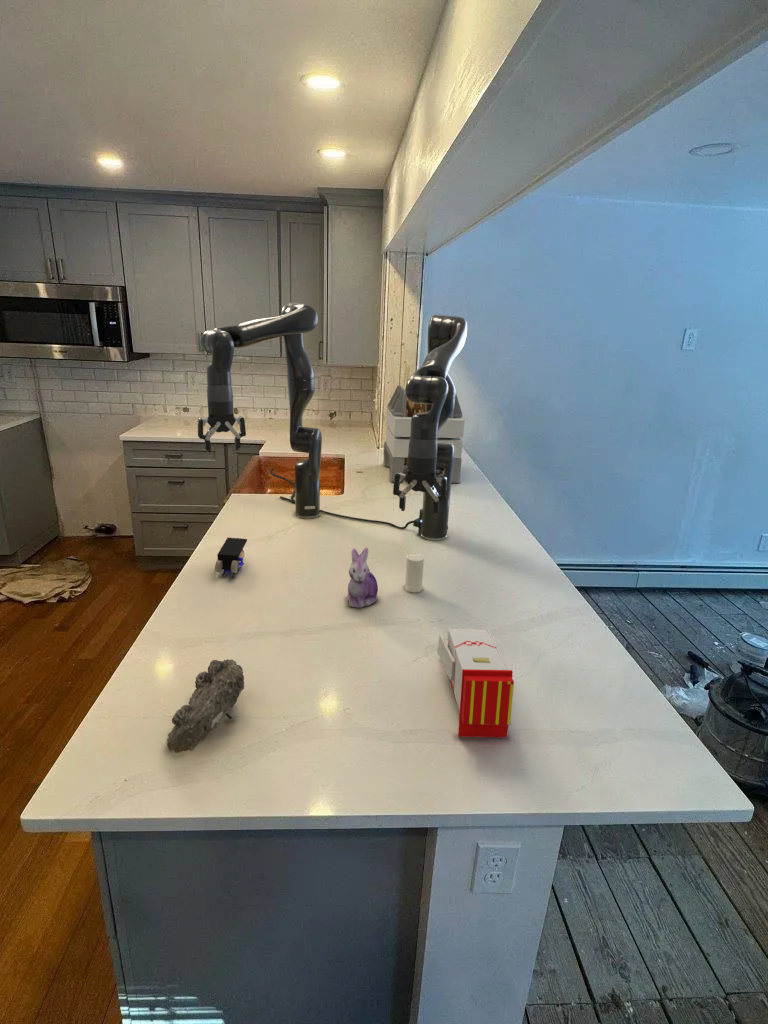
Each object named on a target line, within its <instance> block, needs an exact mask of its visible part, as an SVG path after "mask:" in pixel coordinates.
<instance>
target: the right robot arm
mask: <svg viewBox="0 0 768 1024" xmlns="http://www.w3.org/2000/svg"><path fill="white" fill-rule="evenodd" d="M467 334H468V322H467V320H466V319H465V318H464V317H461V316H456V315H447V314H446V315H444V314H433V315H432V316H430V318H429V320H428V326H427V355H426V356H425V358H424V360H423V363H422V364H421V366H420V367H419V368H417V370H415V371H414V372H413V373H412V374H411V375H410V376H409V378H408V379H407V381H406V384H405V389H404V390H405V393H406V396H407V398H408V400H409V401H410V402H412V403H417V404H425V412H422V413H416V414H414V415H413V416H412V419H411V431H410V441H409V449H408V466H407V465H406V467H407V469H406V473H403V474H402V473H401V472H397V473H396V474H395V479H394V482H393V491H392V494H393V496H397V497H398V498H399V500H398V508H399V509H400V510H401V512H405V510H406V502H407V501H406V500H407V496H406V495H407V494H408V493H409V492H410V491H411V490H412V491H413V492H421V493H422V496H423V497H422V506H421V508H420V509H419V516H418V517H417V518H416V519H413V520H410V521H408V522H406V524H405V525H404V526H398V525H396V524H394V523H392V522H388V521H383V520H375V519H367V518H361V517H354V516H350V515H349V516H348V515H343V514H338V513H334V512H333V513H332V512H330V511H326V510H323V509H320V513H323V514H327V515H329V516H333V517H339V518H344V519H349V520H353V521H362V522H368V523H376V524H383V525H388V526H391V527H393V528H396V529H399V530H406V529H407V528H408V526H409V525H411V524H412V525H413V526H412V527H414V528H418V530H417V535H418V536H420V538H421V539H424V540H426V541H432V542H440V541H444V540H446V539H447V538H448V531H449V517H450V516H449V514H450V504H451V494H452V493H451V491H452V483H451V479H452V470H453V464H454V456H455V449H454V446H453V445H452V444H445V443H437V435H438V430H439V429H440V428H441V427H442V425H443V424H444V423H445V422H446V421H447V420H448V418H449V417H450V416H451V414H452V413H453V411H454V406H455V394H456V395H457V390H456V387H455V384H454V382H453V380H452V378H451V376H450V374H449V370H450V367H451V365H452V364H453V362H454V360H456V358H457V356H458V355H459V354H460V353H461V351H462V350H463V348H464V346H465V344H466V341H467V340H466V339H467V336H468V335H467ZM436 471H437V472H440V471H443V473H442V474H441V473H440V474H438V475H437V473H436ZM403 480H405V481H406V482H407V486H406V487H405V488H404V489H403V490H400V487H401V483H402V482H403ZM401 481H402V482H401ZM279 499H282V500H285V501H287V502H290V503H293V504H295V501H294V500H295V499H294V500H291V498H288V497H285V496H281V495H280V496H279Z"/></svg>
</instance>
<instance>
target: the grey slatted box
mask: <svg viewBox="0 0 768 1024" xmlns="http://www.w3.org/2000/svg"><path fill="white" fill-rule="evenodd" d="M422 412H425V404H417V403H412V402H410V401H409V400H408V398H407V396H406V393H405V389H404V388H403V387H402V385H399V384H398V385H397V386H396V388H395V390H394V392H393V394H392V395H391V398H390V400H389V402H388V404H387V405H386V413H385V414H386V415H385V423H386V428H385V438H384V442H383V466H384V467H388V468H389V475H388V476H389V477H388V478H389V480H390V482H391V483H394V479H395V474H396V473H397V472H401V473H402V474H404V469H405V466H406V467H407V466H408V449H409V441H410V431H411V419H412V416H413V415H414V414H416V413H422ZM464 429H465V419H464V418H463V411H462V408H461V405H460V402H459V398H458V395H457V393H456V394H455V406H454V411H453V413H452V414H451V416H450V417H449V418H448V420H447V421H446V422H445V423H444V424H443V425H442V427H441V428H440V429H439V430H438V435H437V443H445V444H452V445H453V446H454V449H455V456H454V464H453V470H452V479H451V484H455V483H456V484H459V483H461V472H462V461H463V460H462V453H463V442H464V441H463V440H462V439H463V438H464V431H465V430H464ZM439 473H440V474H442V473H443V471H439ZM402 482H403V480H402V481H401V482H400V483H402Z"/></svg>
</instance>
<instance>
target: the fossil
mask: <svg viewBox="0 0 768 1024" xmlns="http://www.w3.org/2000/svg"><path fill="white" fill-rule="evenodd" d="M243 670H244V669H243V667H242V665H240V664H237V662H236V661H235V660H234V659H232V658H231V659H227V658H226V659H224V660H223V661H222V660H217V659H212V660H211V661H210V663H209V665H208V666H207V671H201V672H199V673H198V674H197V675H196V676H195V680H194V684H195V685H194V687H195V689H194V690H193V693H192V694H191V697H190V698H189V700H188V704H184V705H182V706H181V707H180V709H177V710H176V711H175V713H174V715H173V716H172V718H171V723H172V724H173V727H172V730H171V731H170V732H168V734H167V738H166V741H167V742H166V745H167V749H168V750H169V751H173V752H174V753H176V754H178V753H182V752H188V751H189V752H192V751H193V750H195V748H196V747H197V746H199V744H200V743H201V742H203V741H204V740H205V739H206V738H207V737H208V736H209V735H210V734H211V733H212V732H214V730H215V729H217V727H218V726H219V724H220V722H221V721H222V720H223V719H224V718H225V716H226V717H227V719H229V720H233V717H232V715H230V714H229V710H230V709H231V708H234V706H235V704H236V703H237V702H238V699H239V697H240V695H241V693H242V691H243V690H245V689H244V688H245V675H244V671H243Z"/></svg>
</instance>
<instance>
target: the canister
mask: <svg viewBox="0 0 768 1024" xmlns="http://www.w3.org/2000/svg"><path fill="white" fill-rule="evenodd" d="M405 564H406V565H405V578H404V579H405V581H404V590H405V591H406V592H409V593H419V592H422V590H423V578H424V564H425V557H424V555H422V554H419V553H409V554H408V555H406V563H405Z"/></svg>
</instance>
